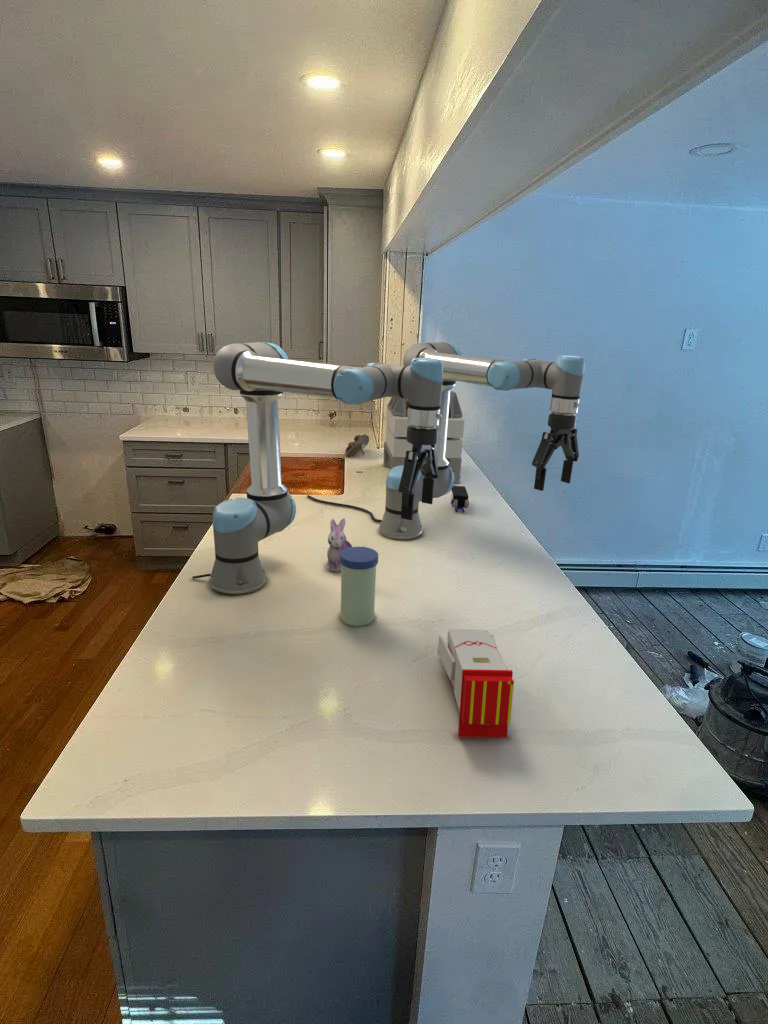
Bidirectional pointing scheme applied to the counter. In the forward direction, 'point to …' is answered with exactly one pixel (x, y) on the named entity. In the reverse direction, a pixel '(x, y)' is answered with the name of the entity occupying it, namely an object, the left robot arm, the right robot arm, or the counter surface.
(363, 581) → the jar
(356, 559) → the lid
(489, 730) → the toy
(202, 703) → the counter surface
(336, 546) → the figurine
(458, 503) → the figurine character
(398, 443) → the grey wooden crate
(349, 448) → the grey animal figure
